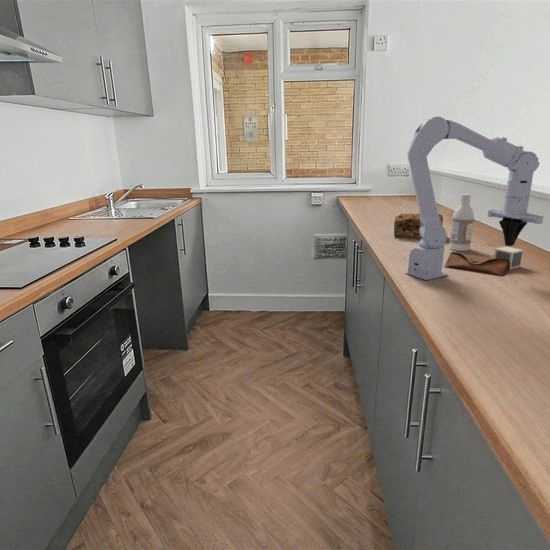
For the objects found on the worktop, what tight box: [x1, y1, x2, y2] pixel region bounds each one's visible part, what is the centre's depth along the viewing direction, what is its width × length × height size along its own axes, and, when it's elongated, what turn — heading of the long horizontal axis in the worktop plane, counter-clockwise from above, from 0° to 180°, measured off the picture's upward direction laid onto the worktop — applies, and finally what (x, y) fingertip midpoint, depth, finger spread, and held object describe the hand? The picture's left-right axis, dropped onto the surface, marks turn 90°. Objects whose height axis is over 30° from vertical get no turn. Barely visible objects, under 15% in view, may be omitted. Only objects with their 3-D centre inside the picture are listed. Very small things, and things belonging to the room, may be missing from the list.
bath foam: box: [448, 193, 475, 252], centre depth 147 cm, size 7×7×20 cm
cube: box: [493, 246, 524, 270], centre depth 128 cm, size 6×6×6 cm
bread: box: [393, 213, 444, 240], centre depth 169 cm, size 19×11×10 cm, turn 67°
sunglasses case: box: [443, 251, 511, 277], centre depth 127 cm, size 18×7×7 cm
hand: (509, 245), depth 116 cm, fingers closed
